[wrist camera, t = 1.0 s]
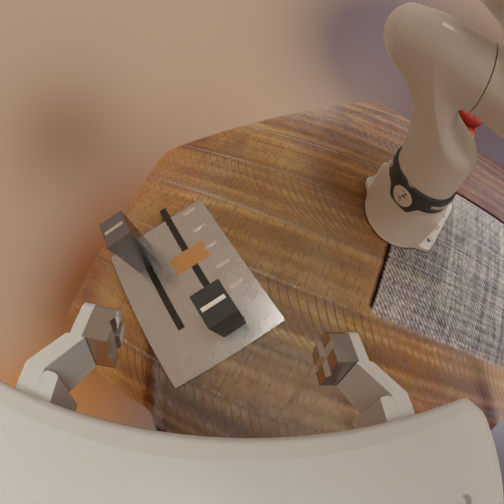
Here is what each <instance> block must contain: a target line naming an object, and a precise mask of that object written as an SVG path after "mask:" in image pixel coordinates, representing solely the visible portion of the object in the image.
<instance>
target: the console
mask: <svg viewBox="0 0 504 504" xmlns="http://www.w3.org/2000/svg"><path fill="white" fill-rule="evenodd" d="M160 213H161V215H162V217H163V219H164V220H165V222H163V223H161V224H160V225H158V226H157V227H155V228H154V229H152V230H151V231H149V232H148V233H146V234H144V235H142V234H141V233H140V232H139V230H138V229H137V228H136V227H135V226H134V225H133V224H132V223H131V221H130V220H129V219H128V218H127V217H126V216H125V215H124V214H123V212H122V211H120V212H118V213H117V214H115V215H114V216H112V217H111V218H110V219H108V220H107V221H105V222H104V223H102V224H101V225H100V228H101V231H102V233H103V236H104V239H105V242H106V245H107V247H108V249H110V250H111V251H112V252H113V253H115V255H114V256H112V257H111V260H112V262H113V265H114V267H115V270H116V272H117V275H118V277H119V279H120V282H121V284H122V286H123V289H124V291H125V293H126V296H127V298H128V300H129V302H130V305H131V307H132V309H133V311H134V313H135V315H136V317H137V319H138V321H139V323H140V326H141V328H142V330H143V332H144V333H145V335H146V337H147V339H148V341H149V343H150V345H151V347H152V349H153V351H154V353H155V354H156V356H157V358H158V360H159V362H160V363H161V365H162V367H163V369H164V370H165V372H166V374H167V376H168V377H169V379H170V381H171V382H172V384H173V386H174V387H175V388H179V387H181V386H183V385H184V384H186V383H188V382H190V381H191V380H193V379H195V378H197V377H198V376H200V375H202V374H203V373H205V372H207V371H208V370H210V369H212V368H213V367H215V366H217V365H218V364H220V363H222V362H223V361H225V360H227V359H228V358H230V357H231V356H233V355H235V354H236V353H238V352H239V351H241V350H243V349H244V348H246V347H247V346H249V345H250V344H252V343H253V342H255V341H256V340H258V339H260V338H261V337H263V336H264V335H266V334H267V333H269V332H270V331H272V330H273V329H274V328H276V327H277V326H279V325H280V324H282V323H283V322H285V319H284V317H283V316H282V315H281V313H280V312H279V310H278V309H277V308H276V306H275V305H274V303H273V302H272V301H271V299H270V298H269V296H268V295H267V294H266V292H265V291H264V289H263V288H262V287H261V285H260V284H259V282H258V281H257V279H256V278H255V277H254V275H253V274H252V272H251V271H250V270H249V268H248V267H247V265H246V264H245V262H244V261H243V260H242V258H241V257H240V255H239V254H238V252H237V251H236V250H235V248H234V247H233V245H232V244H231V242H230V241H229V240H228V238H227V237H226V235H225V234H224V232H223V231H222V230H221V228H220V227H219V225H218V224H217V222H216V221H215V220H214V218H213V217H212V215H211V214H210V212H209V211H208V209H207V208H206V207H205V205H204V204H203V202H202V201H201V199H200V200H199V201H197V202H195V203H194V204H192V205H190V206H189V207H187V208H185V209H184V210H182V211H180V212H179V213H177V214H176V215H174V216H172V217H171V218H170V216H169V214H168V212H167V211H166V209H165V208H164V209H163V210H161V211H160ZM216 279H219V281H220V282H221V284H222V285H223V287H224V288H225V290H226V291H227V293H228V294H229V296H230V297H231V299H232V300H233V302H234V304H235V305H236V307H237V308H238V310H239V311H240V313H241V314H242V316H243V318H244V319H245V321H246V324H245V325H243V326H241V327H240V328H238V329H237V330H235V331H234V332H232V333H231V334H229V335H227V336H226V337H223V336H221V335H219V334H217V333H215V332H213V331H211V330H209V329H208V328H207V326H206V324H205V323H204V321H203V319H202V318H201V316H200V315H199V313H198V311H197V310H196V308H195V306H194V304H193V303H192V301H191V299H190V298H189V297H190V296H191V295H193V294H194V293H196V292H198V291H199V290H201V289H202V288H204V287H205V286H207V285H209V284H210V283H212V282H213V281H215V280H216Z"/></svg>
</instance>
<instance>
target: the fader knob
mask: <svg viewBox="0 0 504 504" xmlns="http://www.w3.org/2000/svg"><path fill="white" fill-rule="evenodd" d="M189 298H190V299H191V301H192V303H193V304H194V306H195V308H196V310H197V311H198V313H199V315H200V316H201V318H202V319H203V321H204V323H205V324H206V326H207V328H208V329H209V330H211V331H213V332H215V333H217V334H219V335H221V336H223V337H226V336H227V335H229V334H231V333H232V332H234V331H235V330H237V329H238V328H240V327H241V326H243V325H245V324H246V321H245V319H244V318H243V316H242V314H241V313H240V311H239V310H238V308H237V307H236V305H235V304H234V302H233V300H232V299H231V297H230V296H229V294H228V293H227V291H226V290H225V288H224V287H223V285H222V284H221V282H220V281H219V279H216V280H215V281H213V282H212V283H210V284H209V285H207V286H205V287H204V288H202V289H201V290H199V291H198V292H196V293H194V294H193V295H191V296H190V297H189Z"/></svg>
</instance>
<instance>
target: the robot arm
mask: <svg viewBox="0 0 504 504" xmlns="http://www.w3.org/2000/svg"><path fill="white" fill-rule="evenodd" d="M481 1H482V2H483V4H484V5H485V6H486V7H487V8H488V10H489V11H490V12H491V13H492V14H493V15H494V17H495V18H496V19H497V20H498V22H499V23H500V24H501V26H502V30H503V40H502V43H501V44H499V43H497V42H494V41H493V40H491V39H490V38H488V37H487V36H486V35H484V34H482V33H481V32H479V31H478V30H476V29H475V28H473V27H471V26H470V25H468V24H466V23H465V22H463V21H461V20H459V19H457V18H456V17H454V16H452V15H450V14H448V13H446V12H443V11H441V10H438V9H434V8H431V7H428V6H424V5H421V4H416V3H412V2H408V3H405V4H403V5H401V6H399V7H398V8H396V9H395V10H394V11H393V12H392V13H391V14H390V15H389V17H388V19H387V21H386V24H385V28H384V42H385V46H386V49H387V52H388V54H389V57H390V58H391V60H392V62H393V63H394V64H395V65H396V67H397V68H398V70H399V71H400V72H401V74H402V76H403V77H404V79H405V81H406V83H407V85H408V88H409V91H410V93H411V97H412V103H413V119H412V123H411V126H410V129H409V132H408V135H407V137H406V140H405V142H404V144H403V146H401V147H400V148H399V149H398V151H397V152H396V153H395V155H394V157H393V159H392V160H390V161H389V162H387V163H386V162H384V163H383V164H382V166H381V168H380V169H379V171H378V173H377V174H376V175H374V176H371V177H368V178H367V179H366V181H365V188H366V191H367V196H366V201H365V211H366V216H367V219H368V221H369V223H370V225H371V226H372V228H373V229H374V231H375V232H376V233H377V234H378V235H379V236H380V237H381V238H382V239H384V240H385V241H387V242H388V243H390V244H392V245H395V246H398V247H403V248H416V249H418V250H421V251H424V252H427V251H429V250H430V248H431V247H432V245H433V243H434V242H435V240H436V238H437V236H438V234H439V233H440V231H441V229H442V227H443V225H444V223H445V221H446V219H447V217H448V215H449V213H450V211H451V209H452V204H451V202H452V200H453V198H454V197H455V195H456V191H457V190H458V188H459V187H460V186H461V185H462V184H463V182H464V181H465V180H466V179H467V177H468V176H469V175H470V174H471V173H472V171H473V170H474V168H475V166H476V162H477V149H476V145H475V142H474V139H473V137H472V135H471V133H470V131H469V130H468V128H467V127H466V125H465V124H464V122H463V120H462V119H461V117H460V114H459V111H460V110H465V111H466V112H469V113H470V114H472V115H473V116H475V117H476V118H477V119H479V120H480V121H481V122H483V123H484V124H485V125H486V126H488V127H489V128H490V129H491V130H493V131H494V132H495V133H496V134H498V135H499V136H500V137H501V138H502V139H503V140H504V0H481ZM427 240H428V241H429V242H428V241H427ZM121 317H122V315H121V310H118V309H113V308H109V307H104V306H100V305H95V304H91V303H87V302H85V303H84V304H83V305H82V307H81V309H80V311H79V313H78V316H77V318H76V320H75V322H74V324H73V326H72V329H71V331H70V333H67V332H66V333H65V334H64V335H62V336H61V337H59V338H58V339H56V340H55V341H54V342H52V343H51V344H49V345H48V346H46V347H45V348H44V349H42V350H41V351H39V352H38V353H37V354H35V355H34V356H33V357H31V358H30V359H28V360H27V361H26V362H25V365H24V367H23V370H22V372H21V375H20V377H19V380H18V382H17V385H16V388H14V387H12V386H10V385H8V384H6V383H4V382H2V381H0V504H503V502H504V500H503V486H502V479H501V471H500V466H499V461H498V456H497V452H496V448H495V444H494V440H493V437H492V434H491V431H490V428H489V425H488V422H487V419H486V417H485V415H484V413H483V412H482V411H481V410H480V409H479V408H478V407H477V406H476V405H475V404H473V403H472V402H471V401H470V400H468V399H466V398H461V399H458V400H456V401H453V402H450V403H448V404H445V405H442V406H440V407H437V408H434V409H431V410H428V411H425V412H421V413H418V414H415V413H414V410H413V407H412V405H411V402H410V399H409V397H408V394H407V392H406V391H405V390H404V389H403V388H402V387H401V386H400V385H398V384H397V383H396V382H395V381H394V380H393V379H392V378H390V377H389V376H388V375H387V374H386V373H385V372H384V371H383V370H381V369H380V368H379V367H378V366H377V365H376V364H375V363H373V362H372V361H369V359H368V356H367V354H366V351H365V349H364V346H363V344H362V341H361V339H360V337H359V334H358V333H357V332H324V333H323V334H322V336H321V340H322V341H320V342H319V343H317V344H316V346H315V347H314V351H313V361H314V364H315V365H316V366H317V367H318V370H317V372H316V374H317V378H318V382H319V386H323V385H337V387H338V388H339V390H340V391H341V392H342V393H343V394H344V395H345V397H346V398H347V399H348V400H349V401H350V403H351V404H352V405H353V406H354V407H355V409H356V410H357V411H358V412H359V413H360V414H361V415H360V416H359V417H357V418H356V419H355V420H354V421H353V422H352V424H353V428H354V429H351V430H345V431H338V432H331V433H324V434H315V435H305V436H293V437H275V438H225V437H207V436H195V435H185V434H176V433H169V432H162V431H155V430H149V429H144V428H138V427H133V426H129V425H124V424H119V423H115V422H111V421H107V420H103V419H99V418H95V417H92V416H89V415H85V414H82V413H79V412H76V408H77V403H76V402H75V400H74V399H73V397H72V396H71V395H70V393H69V392H70V391H71V390H72V389H73V388H74V387H75V386H76V385H77V384H78V383H79V382H80V381H81V380H82V379H83V378H84V377H85V376H86V375H87V374H88V373H89V372H90V371H91V370H92V369H93V368H94V367H95V366H96V365H100V366H104V367H109V368H114V369H115V368H116V364H117V360H118V357H119V354H118V350H117V349H118V348H120V347H121V346H122V342H123V336H124V326H123V323H122V322H121V321H120V320H121Z"/></svg>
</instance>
